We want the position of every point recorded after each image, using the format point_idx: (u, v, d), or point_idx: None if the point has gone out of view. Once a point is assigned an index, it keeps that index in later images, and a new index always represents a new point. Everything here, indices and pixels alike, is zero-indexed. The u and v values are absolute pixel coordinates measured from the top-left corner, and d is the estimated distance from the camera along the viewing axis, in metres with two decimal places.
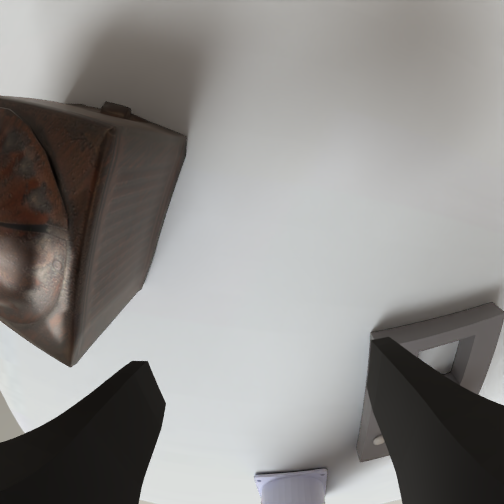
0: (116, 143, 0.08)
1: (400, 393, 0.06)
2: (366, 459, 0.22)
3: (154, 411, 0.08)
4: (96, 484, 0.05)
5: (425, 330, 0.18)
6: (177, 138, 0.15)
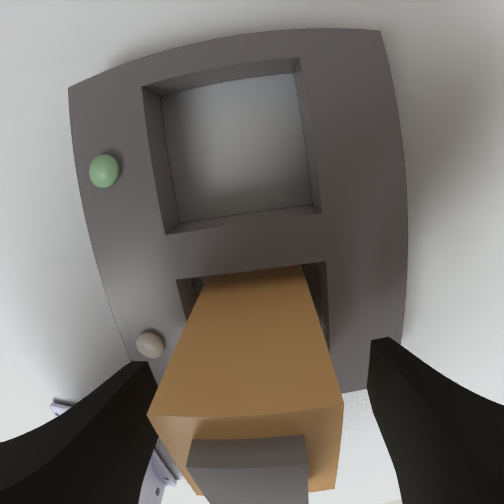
0: None
1: (400, 393, 0.06)
2: None
3: None
4: (96, 484, 0.05)
5: None
6: None
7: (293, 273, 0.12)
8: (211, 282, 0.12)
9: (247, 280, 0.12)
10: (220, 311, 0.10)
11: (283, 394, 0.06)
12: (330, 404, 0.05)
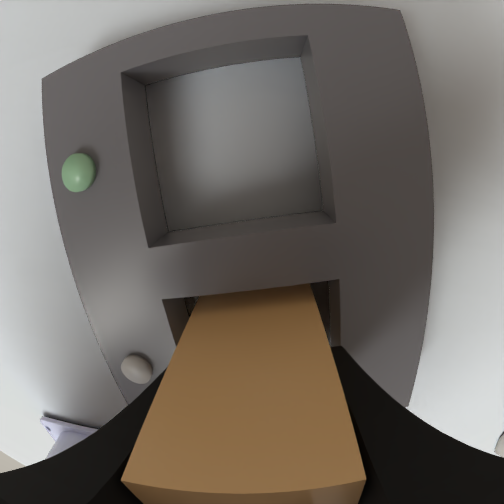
0: None
1: None
2: None
3: None
4: None
5: None
6: None
7: (300, 291, 0.10)
8: (205, 301, 0.10)
9: (246, 299, 0.10)
10: (213, 340, 0.08)
11: (289, 465, 0.04)
12: (349, 480, 0.03)
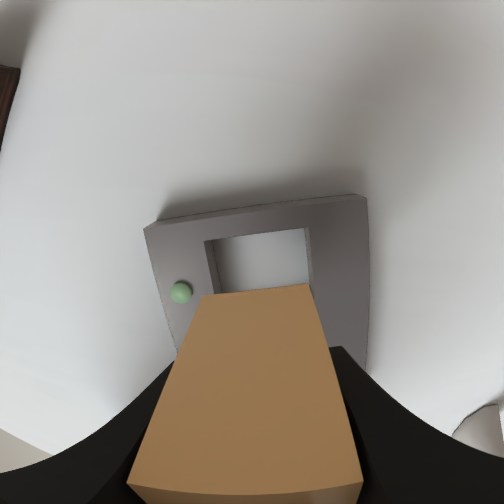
0: None
1: None
2: None
3: None
4: None
5: (216, 214, 0.16)
6: (6, 68, 0.12)
7: (300, 295, 0.10)
8: (206, 305, 0.10)
9: (247, 303, 0.10)
10: (215, 345, 0.08)
11: (290, 468, 0.04)
12: (347, 482, 0.03)
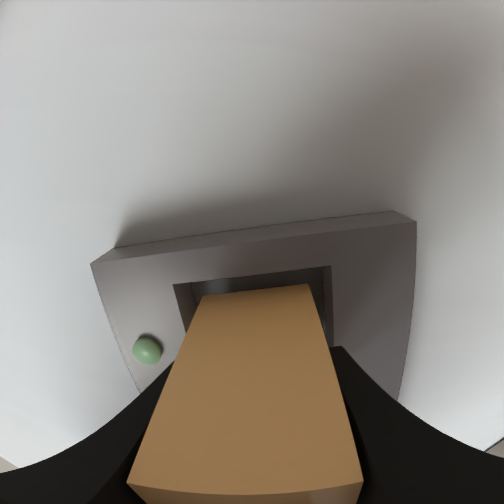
0: None
1: None
2: None
3: None
4: None
5: (191, 243, 0.11)
6: None
7: (300, 295, 0.10)
8: (206, 305, 0.10)
9: (247, 303, 0.10)
10: (214, 345, 0.08)
11: (290, 467, 0.04)
12: (347, 482, 0.03)
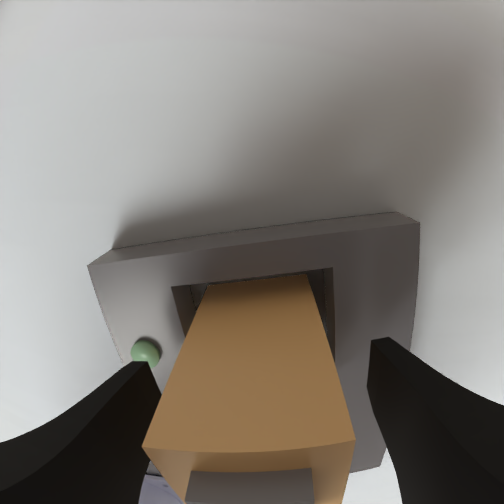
0: None
1: (400, 393, 0.06)
2: None
3: (154, 411, 0.08)
4: (96, 484, 0.05)
5: (190, 245, 0.10)
6: None
7: (298, 284, 0.11)
8: (212, 293, 0.11)
9: (249, 291, 0.11)
10: (220, 327, 0.09)
11: (290, 428, 0.05)
12: (341, 440, 0.04)
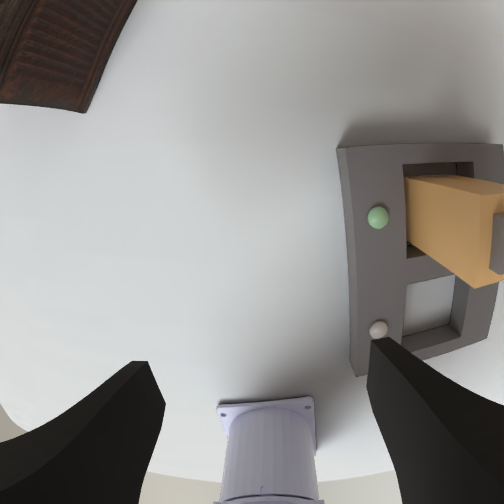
0: None
1: (400, 393, 0.06)
2: (364, 371, 0.18)
3: (154, 411, 0.08)
4: (96, 484, 0.05)
5: None
6: None
7: (452, 175, 0.15)
8: (410, 177, 0.16)
9: (431, 176, 0.15)
10: (442, 181, 0.13)
11: None
12: None
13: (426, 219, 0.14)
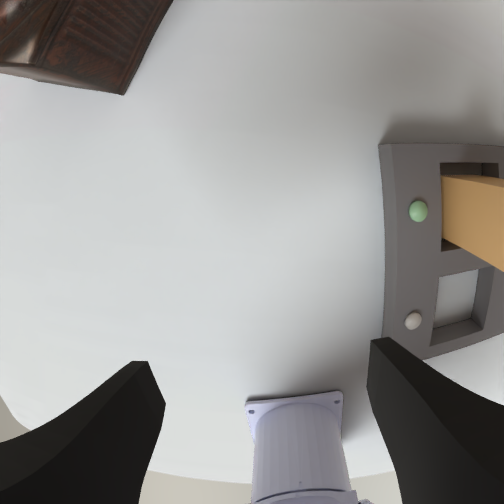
0: None
1: (400, 393, 0.06)
2: None
3: (154, 411, 0.08)
4: (96, 484, 0.05)
5: None
6: None
7: (479, 175, 0.15)
8: (444, 176, 0.16)
9: (462, 175, 0.15)
10: (475, 179, 0.13)
11: None
12: None
13: (461, 213, 0.14)
